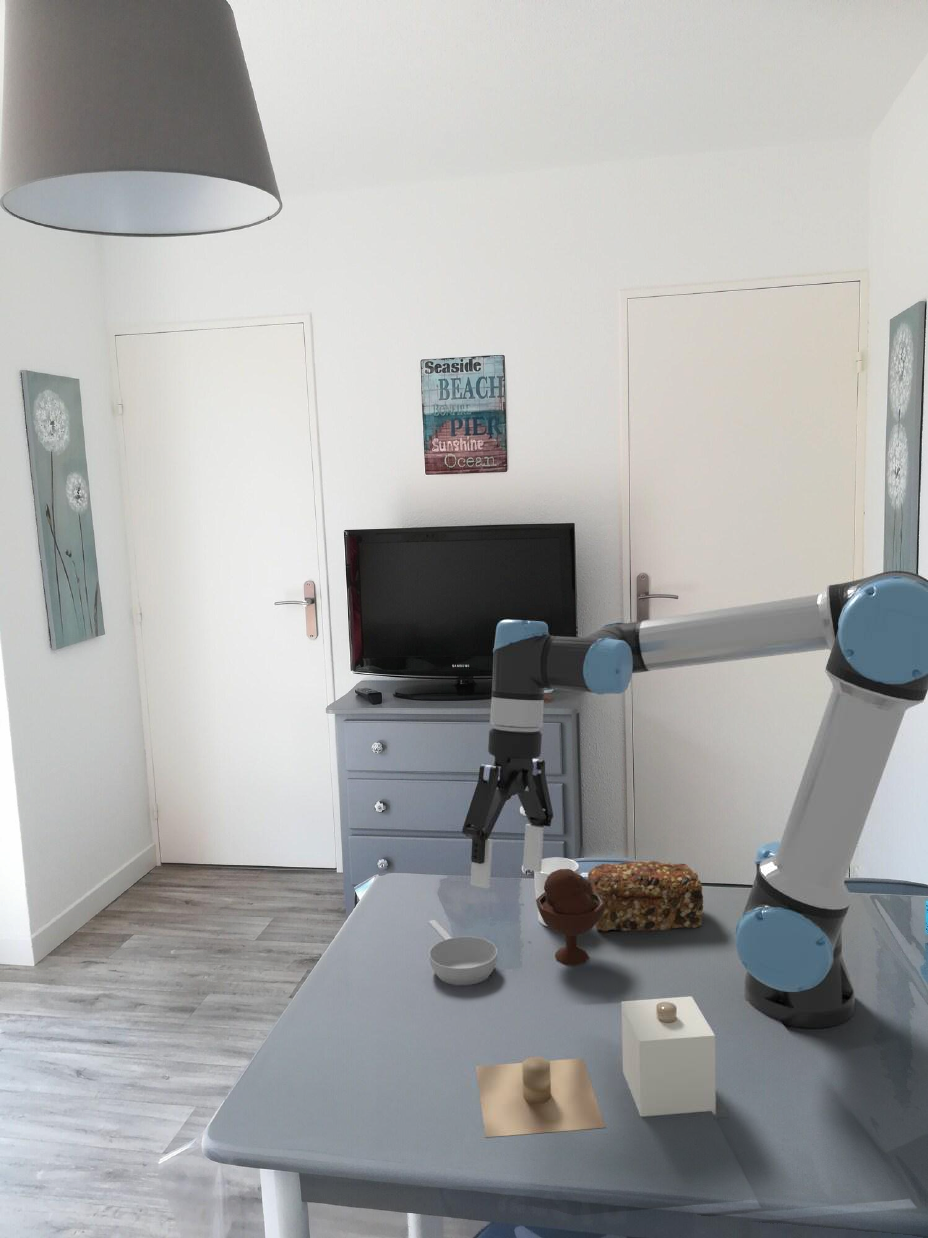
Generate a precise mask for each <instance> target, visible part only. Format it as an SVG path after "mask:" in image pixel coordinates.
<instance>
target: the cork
mask: <svg viewBox="0 0 928 1238" xmlns="http://www.w3.org/2000/svg"><path fill="white" fill-rule="evenodd" d="M549 1061H550V1060H548V1059H546V1058H544V1057H541V1056H530V1057H528V1058H526V1059H523V1061H522V1062H521V1063H522V1073H523V1097H524V1099H525V1100H526V1101H528V1102H530V1103H533V1104H541V1103H545V1102H547V1101H548V1100H549V1099H550V1098H551V1078H550V1063H549Z"/></svg>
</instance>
